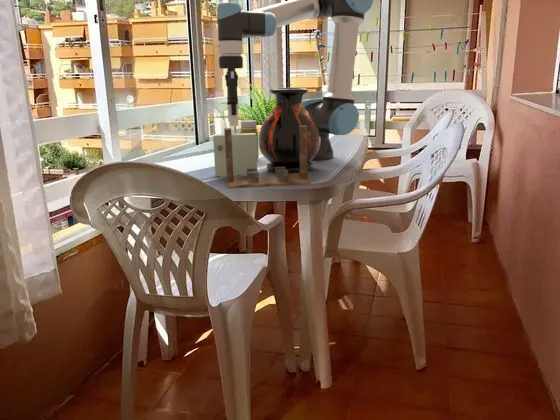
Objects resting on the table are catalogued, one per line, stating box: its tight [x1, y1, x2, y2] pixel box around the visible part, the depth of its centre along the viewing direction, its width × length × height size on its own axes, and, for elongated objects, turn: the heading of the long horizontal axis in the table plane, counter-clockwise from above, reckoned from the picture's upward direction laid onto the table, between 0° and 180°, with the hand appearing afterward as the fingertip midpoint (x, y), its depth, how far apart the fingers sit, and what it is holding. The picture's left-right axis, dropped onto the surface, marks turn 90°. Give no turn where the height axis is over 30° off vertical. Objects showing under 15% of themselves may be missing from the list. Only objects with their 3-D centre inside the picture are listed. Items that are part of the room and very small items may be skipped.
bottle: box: [239, 119, 260, 160], centre depth 195 cm, size 7×7×15 cm
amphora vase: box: [258, 87, 321, 174], centre depth 170 cm, size 22×22×28 cm
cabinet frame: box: [223, 125, 312, 189], centre depth 152 cm, size 25×13×18 cm, turn 98°
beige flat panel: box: [212, 133, 258, 177], centre depth 164 cm, size 14×4×14 cm, turn 98°
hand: (233, 123), depth 162 cm, fingers open, 13 cm apart
